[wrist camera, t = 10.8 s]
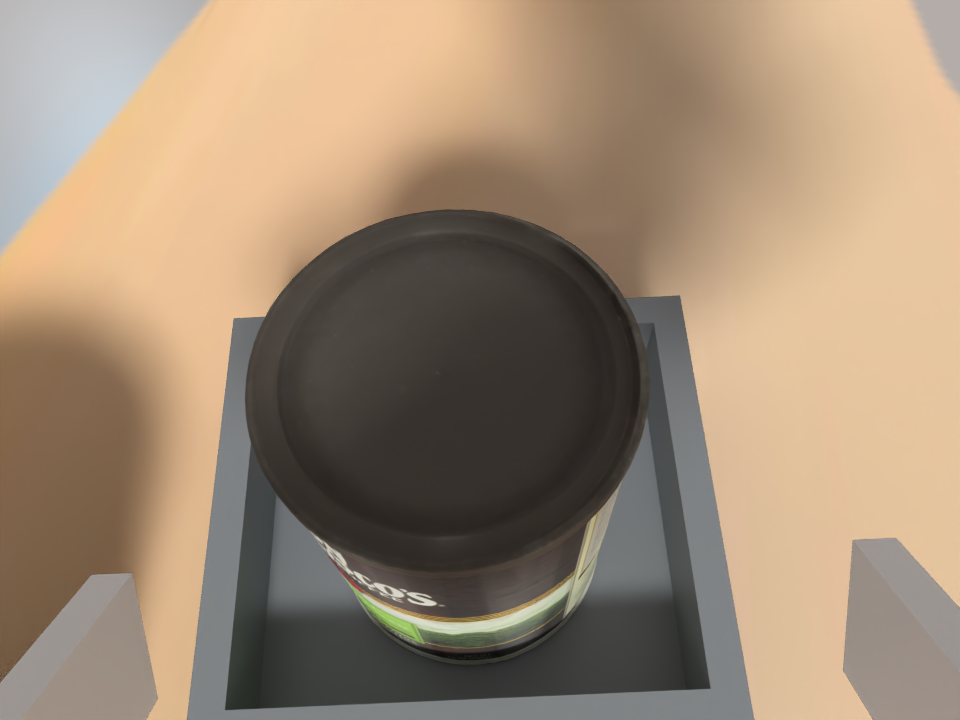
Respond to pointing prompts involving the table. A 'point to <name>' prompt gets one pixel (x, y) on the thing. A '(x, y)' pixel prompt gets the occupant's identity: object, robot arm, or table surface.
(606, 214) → the table surface
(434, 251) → the coffee can
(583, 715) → the bin
